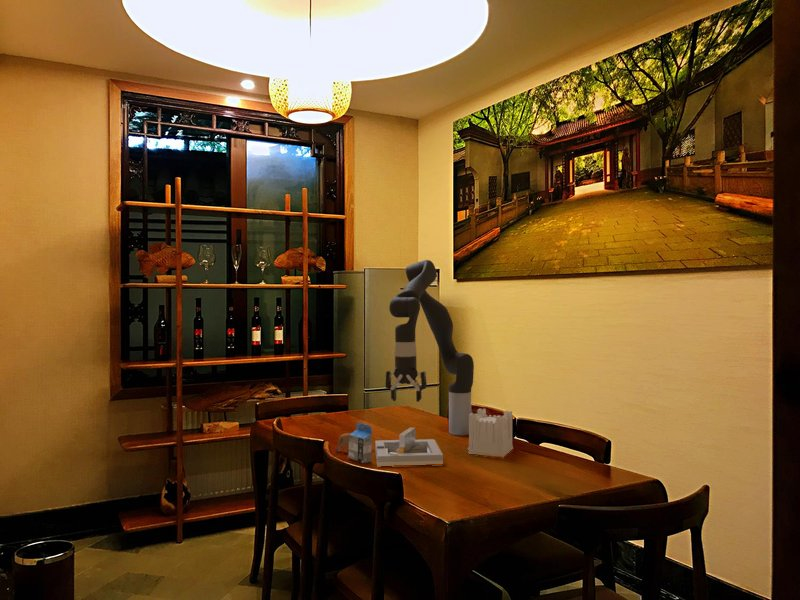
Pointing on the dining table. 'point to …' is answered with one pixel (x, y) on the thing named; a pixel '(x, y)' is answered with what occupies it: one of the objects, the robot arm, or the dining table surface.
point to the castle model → (490, 434)
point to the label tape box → (360, 444)
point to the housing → (407, 454)
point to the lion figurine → (344, 441)
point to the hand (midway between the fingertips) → (406, 401)
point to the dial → (407, 443)
